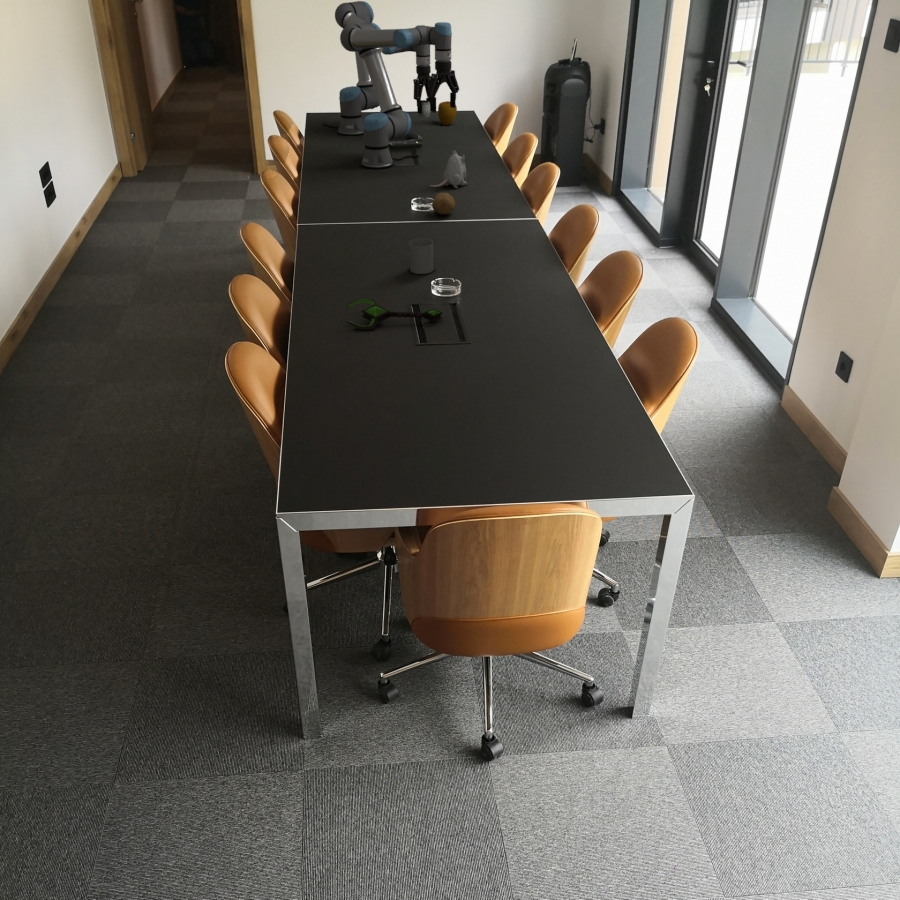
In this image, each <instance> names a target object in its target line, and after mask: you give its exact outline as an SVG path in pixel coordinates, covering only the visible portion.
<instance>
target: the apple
mask: <svg viewBox="0 0 900 900" xmlns="http://www.w3.org/2000/svg"><path fill="white" fill-rule="evenodd" d="M457 114H458V107H457V105H456V107H455V108H452V107H450V101H449V100H446V101H442V102H439V104H438V106H437V116H438V120H439V122H440V123H441V125H442V126H449V125H452V124H453V123H454V121H455V120H456V117H457Z"/></svg>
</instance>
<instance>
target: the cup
mask: <svg viewBox="0 0 900 900" xmlns="http://www.w3.org/2000/svg"><path fill="white" fill-rule="evenodd" d="M408 253H409V272H411V273H412V274H416V275H426V274H430V273H432V272H434V241H433V240H431V239H428V238H422V237H421V238H420V237H419V238H414V239H411V240H410V241H409V242H408Z"/></svg>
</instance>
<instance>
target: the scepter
mask: <svg viewBox="0 0 900 900" xmlns="http://www.w3.org/2000/svg"><path fill="white" fill-rule="evenodd" d="M360 303H368V304H370V305H371V306H369V307H367V308H364V309H362V310H360V312H361V313H362V315H361V317H362V318H363V319H366V320H367V321H369V322H370V324H368V325H361V324H357V323H355V322H353V321H350V320H345V322H346V323H347V324H349V325H351V326H352V327H354V328H355V329H358V330H366V331H367V330H369V331H370V330H374V328H375V327H376V325H377V324H380V323H381V322H384V321H386V320H388V319H390V318H412V319H413V318H416V319H417V318H418V319H421V318H423V319H425V320H427V321H429V322H433V323H435V322H437V321H440V320H442V319H443V317H442V314H443V312H442V311H440V310H437V309H435V308H431V309H429V310H426V311H424V312H422V311H418V312H413V311H409V312H408V311H391V310H389V309H387V308H385V307H383V306H381V305H380V304H377V302H376V301H375V300H374V299H373V298H359V299H356V300H354V301H352V302H350V303H348V304H346V307H352V306H355V305H357V304H360Z"/></svg>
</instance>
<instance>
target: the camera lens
mask: <svg viewBox="0 0 900 900" xmlns="http://www.w3.org/2000/svg"><path fill="white" fill-rule="evenodd" d="M421 100H422V113H418V118H419V117H420V118H430V116H431V111H430V102H429V101H427V100H426V99H421Z"/></svg>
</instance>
